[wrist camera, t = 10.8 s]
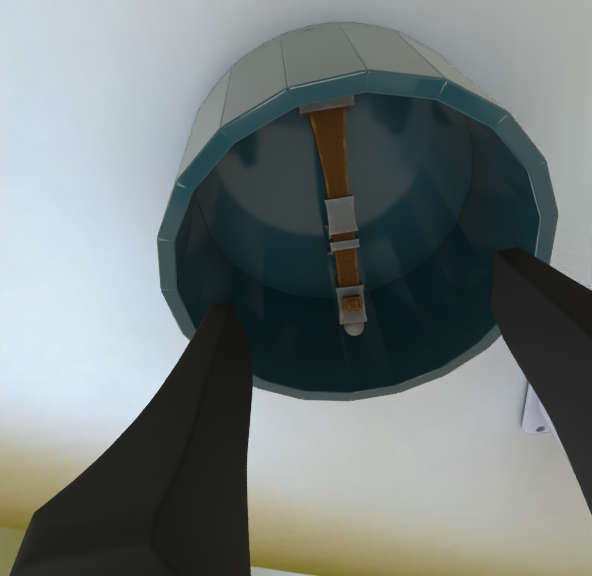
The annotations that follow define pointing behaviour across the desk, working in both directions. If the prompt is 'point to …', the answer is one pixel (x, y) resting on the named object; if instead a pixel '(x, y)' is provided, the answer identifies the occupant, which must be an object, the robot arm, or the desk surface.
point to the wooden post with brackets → (339, 206)
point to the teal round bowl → (367, 207)
